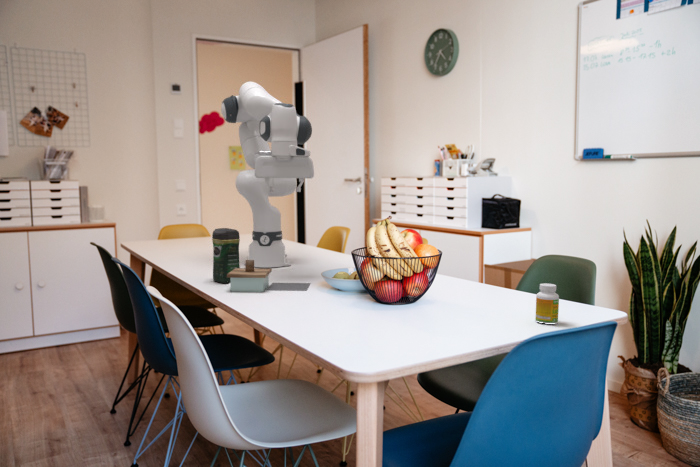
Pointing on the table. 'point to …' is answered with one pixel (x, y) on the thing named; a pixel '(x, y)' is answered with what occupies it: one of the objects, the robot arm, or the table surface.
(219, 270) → the coffee jar
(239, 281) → the mint green open box
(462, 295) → the table surface
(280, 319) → the table surface
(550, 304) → the supplement bottle
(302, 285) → the mat
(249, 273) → the lid
